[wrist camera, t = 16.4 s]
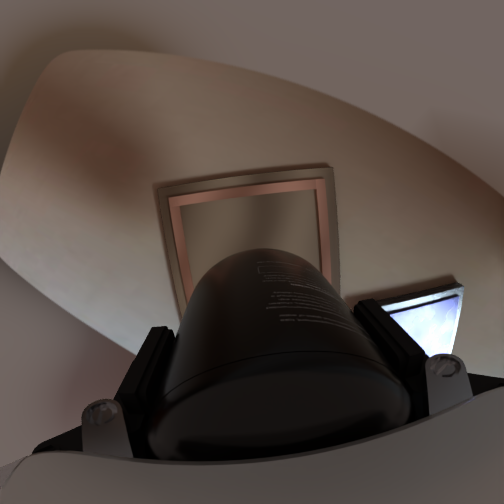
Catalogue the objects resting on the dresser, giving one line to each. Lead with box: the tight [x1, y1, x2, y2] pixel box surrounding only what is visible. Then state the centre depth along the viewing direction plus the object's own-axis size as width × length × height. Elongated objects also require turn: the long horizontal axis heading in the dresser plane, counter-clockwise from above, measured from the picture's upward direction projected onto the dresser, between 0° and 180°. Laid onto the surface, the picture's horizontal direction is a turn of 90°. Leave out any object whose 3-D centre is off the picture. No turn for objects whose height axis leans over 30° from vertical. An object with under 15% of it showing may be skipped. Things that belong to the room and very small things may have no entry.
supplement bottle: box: [143, 248, 417, 461], centre depth 8 cm, size 7×7×12 cm
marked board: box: [157, 167, 340, 318], centre depth 22 cm, size 13×13×1 cm
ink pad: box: [376, 282, 464, 357], centre depth 24 cm, size 12×12×2 cm
